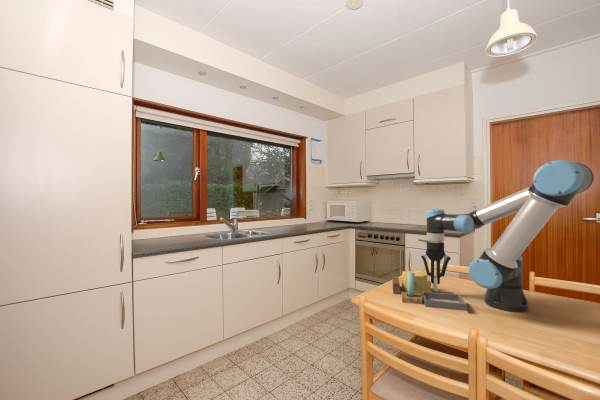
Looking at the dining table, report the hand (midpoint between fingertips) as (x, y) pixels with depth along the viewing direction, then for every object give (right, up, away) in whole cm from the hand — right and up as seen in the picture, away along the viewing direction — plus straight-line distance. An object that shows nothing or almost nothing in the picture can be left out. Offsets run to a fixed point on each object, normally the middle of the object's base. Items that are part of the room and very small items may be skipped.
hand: (435, 290), depth 130 cm
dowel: (-15, -2, -8) cm, 17 cm away
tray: (-3, -2, -13) cm, 14 cm away
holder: (-15, -3, -8) cm, 17 cm away
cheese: (-8, -3, +2) cm, 9 cm away
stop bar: (-17, -2, +5) cm, 18 cm away
